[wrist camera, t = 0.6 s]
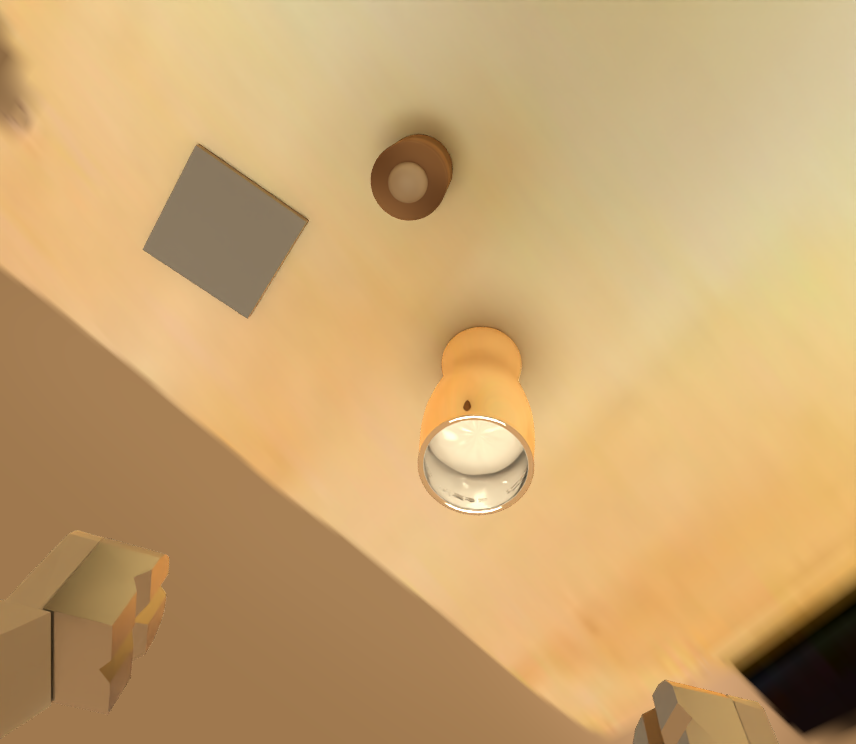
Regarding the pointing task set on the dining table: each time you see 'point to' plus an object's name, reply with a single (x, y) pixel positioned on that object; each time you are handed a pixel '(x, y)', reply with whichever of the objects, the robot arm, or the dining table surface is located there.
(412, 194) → the pepper mill
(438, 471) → the beer glass
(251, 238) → the coaster
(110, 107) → the dining table surface
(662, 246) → the dining table surface
